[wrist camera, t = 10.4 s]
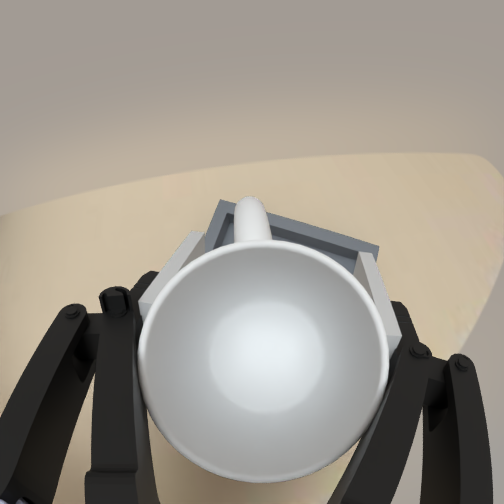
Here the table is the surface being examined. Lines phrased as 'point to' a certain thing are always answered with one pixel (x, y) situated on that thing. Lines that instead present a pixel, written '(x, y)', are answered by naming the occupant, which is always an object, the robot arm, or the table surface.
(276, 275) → the mug
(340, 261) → the tray
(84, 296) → the table surface
